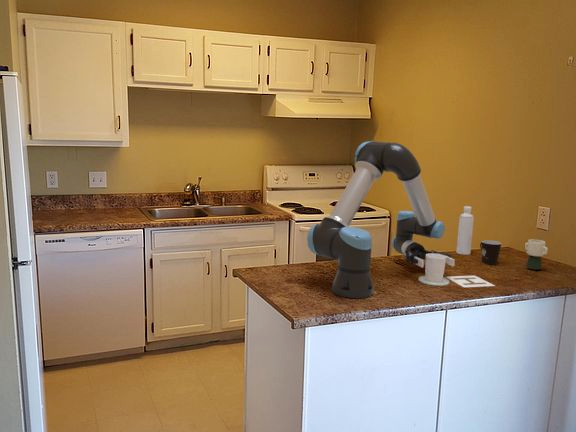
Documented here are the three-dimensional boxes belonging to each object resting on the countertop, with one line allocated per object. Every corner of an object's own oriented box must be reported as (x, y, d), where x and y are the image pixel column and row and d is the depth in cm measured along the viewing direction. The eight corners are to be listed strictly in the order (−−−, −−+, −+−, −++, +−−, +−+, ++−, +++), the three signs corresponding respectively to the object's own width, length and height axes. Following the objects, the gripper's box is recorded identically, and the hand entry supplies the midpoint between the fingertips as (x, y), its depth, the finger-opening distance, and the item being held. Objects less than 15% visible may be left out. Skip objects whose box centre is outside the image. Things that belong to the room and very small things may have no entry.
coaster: (427, 286, 200) (427, 285, 200) (413, 277, 212) (413, 276, 212) (455, 285, 203) (455, 283, 203) (439, 276, 215) (439, 275, 215)
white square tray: (464, 287, 201) (464, 287, 201) (445, 277, 214) (445, 276, 214) (495, 286, 204) (495, 285, 204) (474, 275, 218) (474, 275, 217)
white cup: (420, 279, 207) (422, 255, 205) (429, 275, 213) (431, 252, 211) (438, 284, 202) (440, 259, 200) (447, 280, 208) (449, 256, 206)
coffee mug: (500, 266, 234) (503, 245, 232) (481, 264, 236) (483, 243, 234) (496, 260, 245) (498, 239, 244) (477, 258, 247) (479, 238, 245)
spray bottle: (455, 250, 261) (459, 202, 256) (468, 251, 260) (473, 203, 256) (457, 254, 254) (462, 204, 250) (471, 255, 253) (476, 205, 249)
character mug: (549, 271, 228) (553, 242, 226) (539, 273, 225) (543, 244, 223) (527, 265, 238) (531, 237, 236) (517, 266, 234) (521, 239, 232)
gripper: (438, 258, 228) (465, 271, 208) (386, 259, 222) (408, 273, 202) (439, 241, 227) (467, 253, 207) (387, 242, 221) (410, 255, 201)
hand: (438, 263), depth 204 cm, fingers open, 13 cm apart
